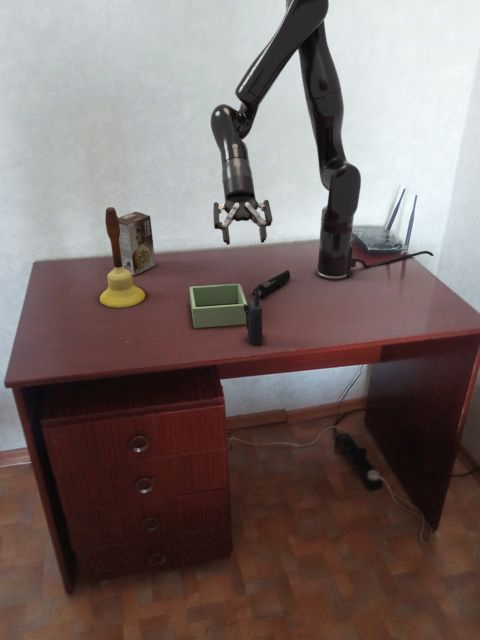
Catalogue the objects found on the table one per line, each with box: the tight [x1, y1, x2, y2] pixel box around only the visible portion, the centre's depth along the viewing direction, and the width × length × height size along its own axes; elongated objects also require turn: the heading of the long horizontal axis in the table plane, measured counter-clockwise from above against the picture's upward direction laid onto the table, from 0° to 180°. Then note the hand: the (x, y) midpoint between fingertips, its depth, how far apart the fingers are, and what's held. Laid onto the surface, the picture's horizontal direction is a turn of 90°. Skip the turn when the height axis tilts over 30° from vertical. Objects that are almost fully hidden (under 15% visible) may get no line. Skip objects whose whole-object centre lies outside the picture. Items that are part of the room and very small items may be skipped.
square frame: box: [188, 283, 248, 329], centre depth 143 cm, size 14×13×6 cm
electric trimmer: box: [251, 269, 291, 300], centre depth 157 cm, size 4×16×3 cm, turn 143°
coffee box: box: [118, 211, 156, 276], centre depth 164 cm, size 9×6×16 cm
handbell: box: [99, 206, 146, 308], centre depth 145 cm, size 12×12×25 cm
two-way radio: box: [243, 285, 263, 345], centre depth 130 cm, size 6×4×15 cm
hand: (245, 242), depth 134 cm, fingers open, 8 cm apart
